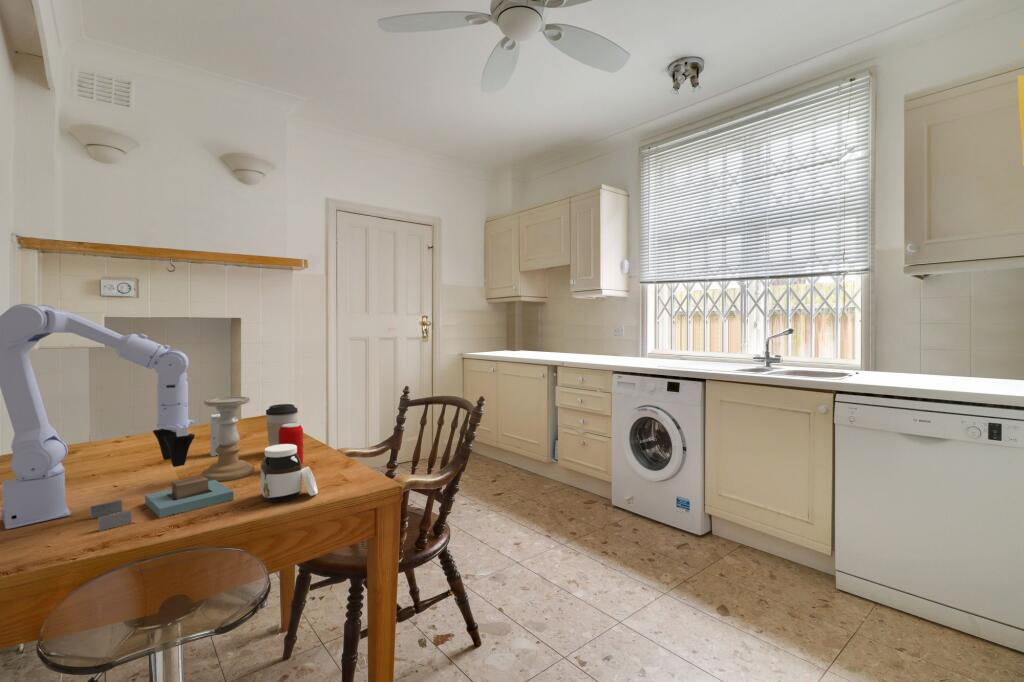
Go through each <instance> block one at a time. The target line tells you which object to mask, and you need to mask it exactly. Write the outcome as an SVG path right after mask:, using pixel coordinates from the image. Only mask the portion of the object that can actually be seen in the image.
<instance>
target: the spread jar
mask: <svg viewBox="0 0 1024 682" xmlns="http://www.w3.org/2000/svg"><path fill="white" fill-rule="evenodd" d="M296 453H297V446H296V445H293V444H279V445H273V446H269V445H268V446H267V447H265V448H264V457H263V459H262V460H261V464H260V489H261V495H262V497H263V499H264V501H267V502H268V503H269V502H270V503H283V502H287V500H288V501H290V499H291V500H294V499H295V498H296V497H298V496H299V495H300V494H301V493H302V489H303V488H302V487H303V484H304V486H305V489H306V491H307V493H308V495H310V497H313V496H316V495H317V494H318V492H319V489H318V486H317V482H316V479H315V477H314V474H313V472H312V470H311V468H310V467H309V466H305V467H302V465H301V462H300V459H299V457H298V455H297V454H296ZM282 501H283V502H282Z"/></svg>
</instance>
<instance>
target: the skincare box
mask: <svg viewBox="0 0 1024 682" xmlns="http://www.w3.org/2000/svg"><path fill="white" fill-rule="evenodd" d="M219 418H220V413H215V414H210V457H214V456H215V457H216V455H217V456H219V454H217V453H216V452H215V450H216V448H217V447H218V446H219V444H217V442H216V438H217V435H218V431H219V424H217V420H218V419H219Z"/></svg>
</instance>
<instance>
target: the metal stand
mask: <svg viewBox="0 0 1024 682" xmlns="http://www.w3.org/2000/svg"><path fill="white" fill-rule="evenodd" d="M89 511H90V513H89V515H90V516H89V517H91V518H90V520H94V519H93V518H95V519H97V523H98V524H97V527H98V532H102V531H101V530H103V531H106V530H105V529H107V530H110V529H109V528H111V529H114V528H113V527H115V528H117V527H116V526H119V527H121V526H120V525H123V526H125V525H124V524H127V525H129V524H128V523H131V524H132V510H131V509H129V510H125V511H123V502H122V499H117V500H112V501H111V500H110V501H108V502H102V503H98V504H94V505H90V506H89ZM118 512H119V513H118ZM114 513H115V514H114ZM110 514H111V515H110ZM97 517H98V518H97Z"/></svg>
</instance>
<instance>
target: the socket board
mask: <svg viewBox="0 0 1024 682" xmlns="http://www.w3.org/2000/svg"><path fill="white" fill-rule="evenodd" d="M233 499H234V490H232V489H230V488H229V487H227V486H226V485H224V484H223V483H221V481H216V480H211V481H208V493H205V494H201V495H196V496H192V497H188V498H183V499H179V500H175V501H173V500H172V488H171V489H165V490H162V491H157V492H152V493H146V494H145V495H144V502H145V505H146V506H147V507H148V508H149V509H150V510H151V511H152V510H153V511H152V512H153V513H154V512H155V513H154V514H155V515H156V516H157V515H158V516H159V517H160V518H159V517H158V516H157V517H158V518H159V519H162V518H161V517H164V518H166V517H165V516H168V517H170V516H169V515H171V516H173V515H172V514H175V515H178V514H177V513H179V514H182V513H181V512H183V513H186V512H185V511H187V512H191V511H195V510H199V509H203V508H206V506H207V507H210V505H211V506H215V505H218V503H219V504H222V503H221V502H223V503H226V502H225V501H227V502H230V501H229V500H231V501H234V500H233ZM214 504H215V505H214ZM202 507H203V508H202ZM198 508H199V509H198ZM194 509H195V510H194ZM190 510H191V511H190Z"/></svg>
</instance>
